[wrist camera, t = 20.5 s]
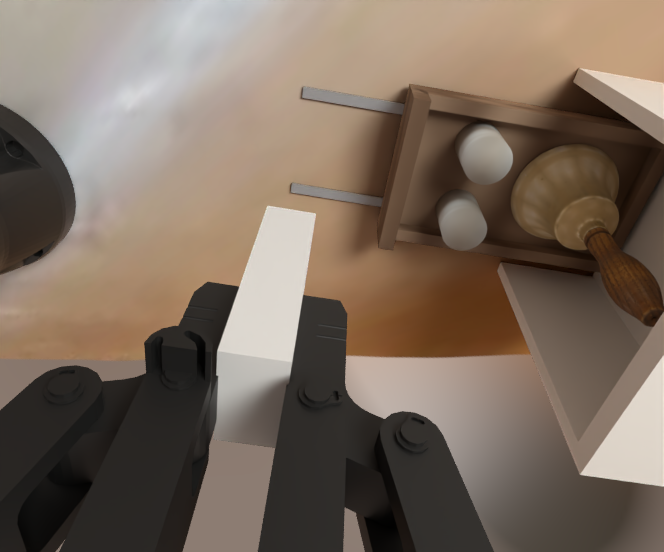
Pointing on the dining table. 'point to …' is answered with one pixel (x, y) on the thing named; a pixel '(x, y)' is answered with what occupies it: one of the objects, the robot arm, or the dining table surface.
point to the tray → (526, 144)
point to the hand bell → (585, 220)
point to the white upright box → (586, 315)
